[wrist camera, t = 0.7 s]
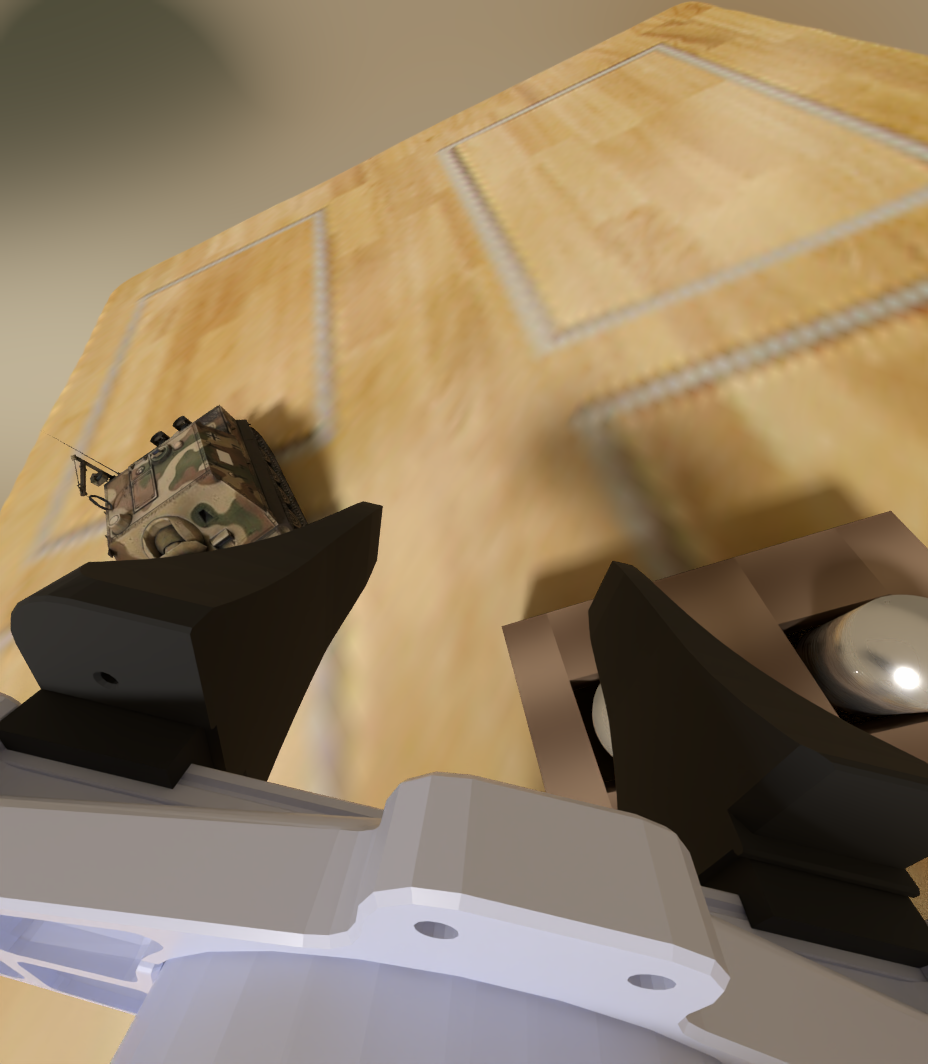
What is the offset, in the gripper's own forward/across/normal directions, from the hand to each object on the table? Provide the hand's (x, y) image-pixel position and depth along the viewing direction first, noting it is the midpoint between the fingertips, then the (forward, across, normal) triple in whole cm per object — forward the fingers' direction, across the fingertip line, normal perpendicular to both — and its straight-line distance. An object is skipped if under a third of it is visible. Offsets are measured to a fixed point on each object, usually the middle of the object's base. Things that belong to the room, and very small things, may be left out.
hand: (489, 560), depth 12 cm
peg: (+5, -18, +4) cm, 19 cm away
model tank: (+22, +23, +17) cm, 36 cm away
